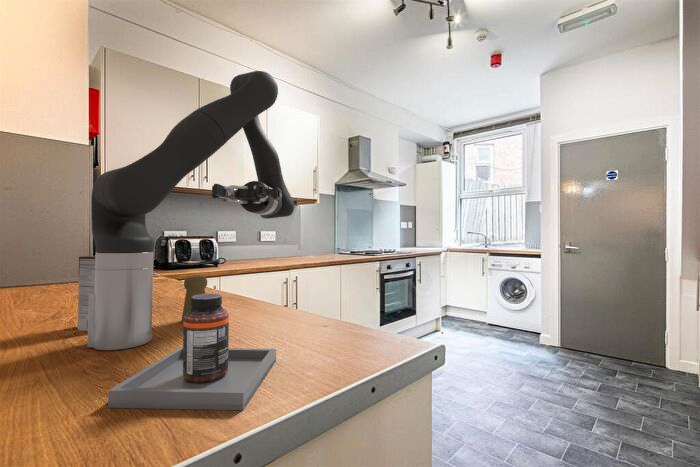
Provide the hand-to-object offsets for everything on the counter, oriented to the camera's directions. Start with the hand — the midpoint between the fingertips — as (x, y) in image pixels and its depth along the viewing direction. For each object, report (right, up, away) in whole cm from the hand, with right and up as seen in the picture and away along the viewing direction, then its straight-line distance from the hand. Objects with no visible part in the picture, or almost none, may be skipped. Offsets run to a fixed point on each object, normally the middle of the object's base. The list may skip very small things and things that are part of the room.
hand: (236, 189), depth 67 cm
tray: (+2, -30, -20) cm, 36 cm away
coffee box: (-32, -30, +9) cm, 45 cm away
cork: (-15, -30, +15) cm, 37 cm away
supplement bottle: (+2, -29, -20) cm, 35 cm away
